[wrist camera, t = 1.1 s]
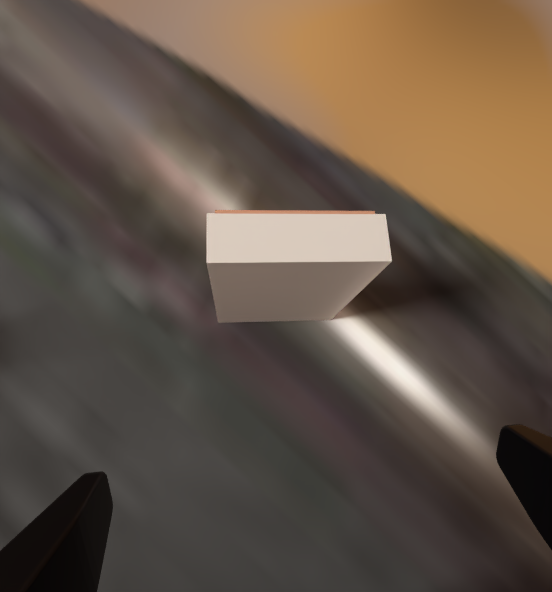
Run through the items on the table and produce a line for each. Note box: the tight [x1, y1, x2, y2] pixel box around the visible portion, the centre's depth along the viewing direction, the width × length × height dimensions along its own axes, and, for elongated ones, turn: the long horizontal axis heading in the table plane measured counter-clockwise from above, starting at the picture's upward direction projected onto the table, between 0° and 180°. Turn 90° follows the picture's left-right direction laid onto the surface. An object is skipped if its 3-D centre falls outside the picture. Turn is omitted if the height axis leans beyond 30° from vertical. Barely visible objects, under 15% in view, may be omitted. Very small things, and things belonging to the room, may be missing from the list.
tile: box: [207, 210, 392, 323], centre depth 20 cm, size 2×7×10 cm, turn 93°
